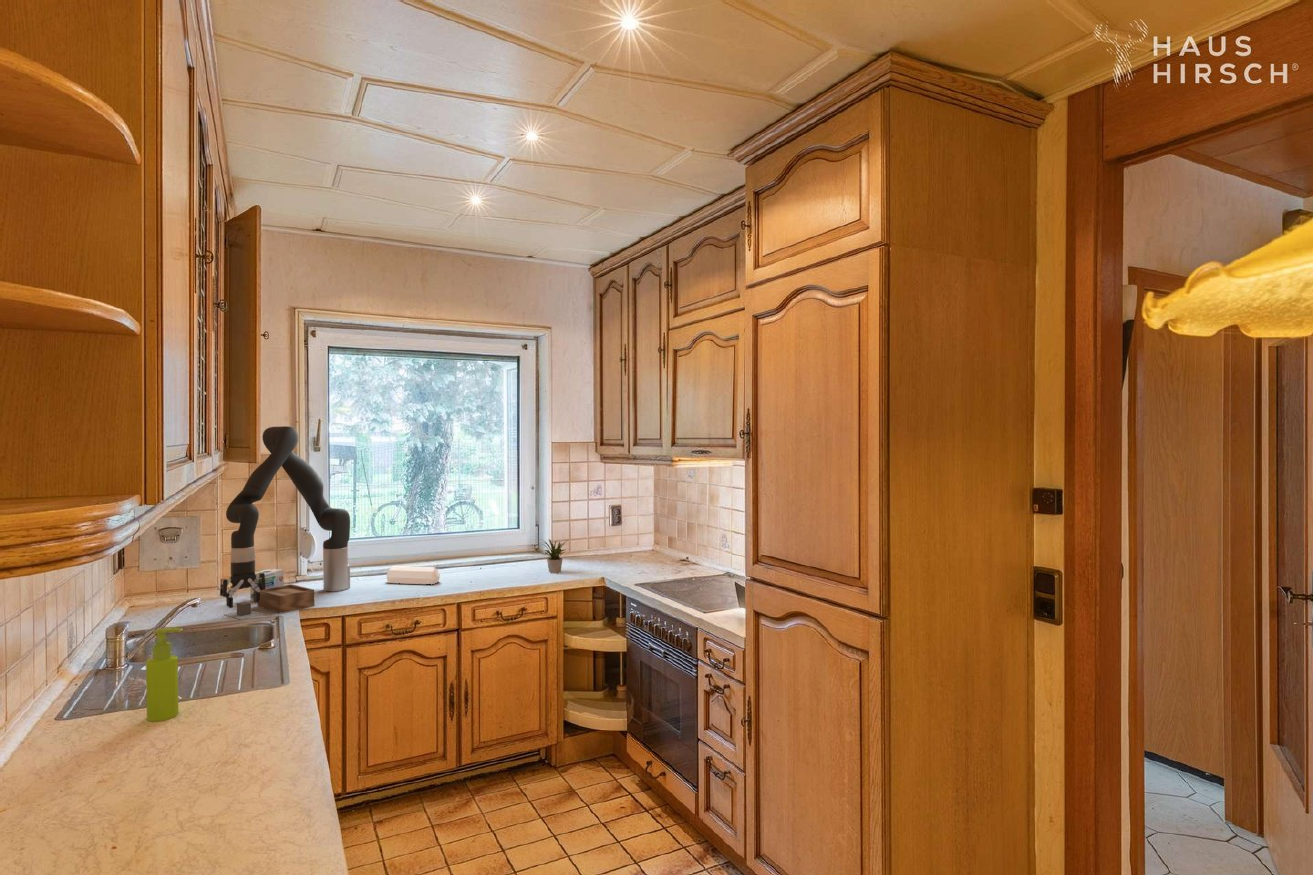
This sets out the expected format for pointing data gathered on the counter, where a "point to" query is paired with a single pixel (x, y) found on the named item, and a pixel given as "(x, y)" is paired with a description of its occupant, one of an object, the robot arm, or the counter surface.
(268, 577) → the light bulb box
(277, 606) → the walnut box
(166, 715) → the soap dispenser
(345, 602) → the counter surface
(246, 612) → the cover plate
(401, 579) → the pale wooden prism
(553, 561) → the house plant
